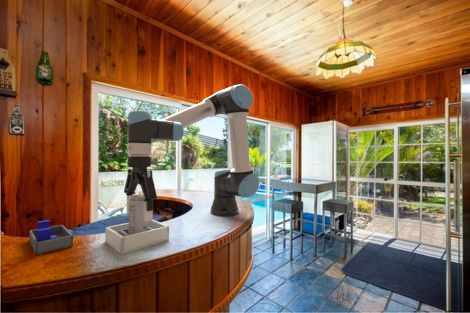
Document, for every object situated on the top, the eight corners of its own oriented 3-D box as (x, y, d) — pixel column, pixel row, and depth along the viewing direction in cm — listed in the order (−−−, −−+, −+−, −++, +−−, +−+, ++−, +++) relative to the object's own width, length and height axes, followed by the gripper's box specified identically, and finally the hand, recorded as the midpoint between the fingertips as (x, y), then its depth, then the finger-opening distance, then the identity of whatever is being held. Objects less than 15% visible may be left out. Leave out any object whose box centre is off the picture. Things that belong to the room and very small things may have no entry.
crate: (149, 231, 87) (150, 218, 87) (168, 240, 78) (169, 226, 78) (105, 241, 75) (105, 227, 75) (121, 254, 66) (121, 237, 66)
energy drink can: (148, 240, 75) (149, 196, 76) (128, 243, 72) (129, 197, 73) (145, 234, 81) (146, 193, 81) (127, 237, 78) (128, 195, 78)
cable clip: (56, 246, 69) (56, 227, 69) (37, 250, 66) (37, 230, 66) (54, 236, 78) (54, 219, 78) (37, 239, 75) (37, 221, 75)
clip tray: (62, 234, 82) (62, 224, 82) (72, 246, 71) (73, 235, 71) (29, 240, 75) (29, 230, 75) (35, 255, 64) (35, 243, 64)
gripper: (114, 155, 82) (114, 212, 82) (145, 156, 66) (145, 227, 66) (134, 155, 88) (134, 208, 88) (168, 156, 71) (167, 221, 71)
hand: (139, 216), depth 77 cm, fingers open, 13 cm apart
